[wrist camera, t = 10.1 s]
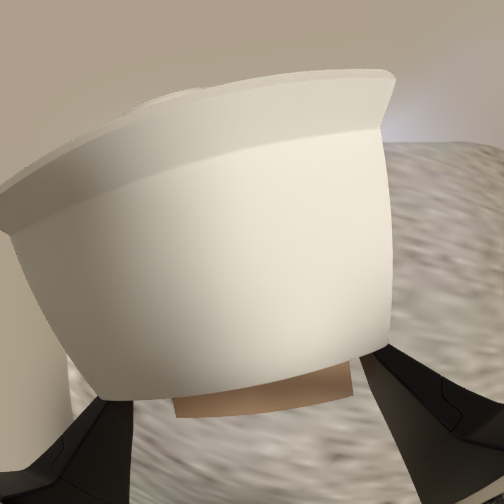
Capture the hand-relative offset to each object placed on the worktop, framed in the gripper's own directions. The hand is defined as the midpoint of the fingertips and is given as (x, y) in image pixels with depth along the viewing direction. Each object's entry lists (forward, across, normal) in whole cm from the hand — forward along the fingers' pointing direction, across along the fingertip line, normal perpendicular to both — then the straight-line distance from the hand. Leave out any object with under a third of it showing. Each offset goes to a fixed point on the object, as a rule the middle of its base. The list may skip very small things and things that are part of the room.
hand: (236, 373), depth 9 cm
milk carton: (+11, 0, +6) cm, 12 cm away
